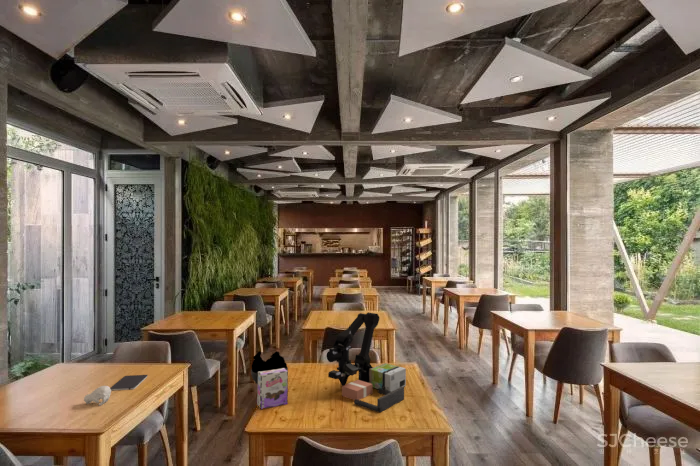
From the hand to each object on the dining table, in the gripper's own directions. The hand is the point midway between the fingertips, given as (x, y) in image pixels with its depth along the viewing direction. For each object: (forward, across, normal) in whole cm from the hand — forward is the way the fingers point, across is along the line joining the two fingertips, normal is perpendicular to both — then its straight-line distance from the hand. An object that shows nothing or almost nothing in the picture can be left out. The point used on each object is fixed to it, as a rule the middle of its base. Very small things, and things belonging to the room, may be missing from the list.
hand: (343, 387), depth 212 cm
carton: (+2, 0, -10) cm, 10 cm away
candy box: (+2, -37, +14) cm, 40 cm away
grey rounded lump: (+2, -92, +80) cm, 123 cm away
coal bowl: (+2, -23, +34) cm, 41 cm away
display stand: (+2, 0, -23) cm, 23 cm away
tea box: (-4, +20, -22) cm, 30 cm away
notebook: (+2, -70, +99) cm, 121 cm away
